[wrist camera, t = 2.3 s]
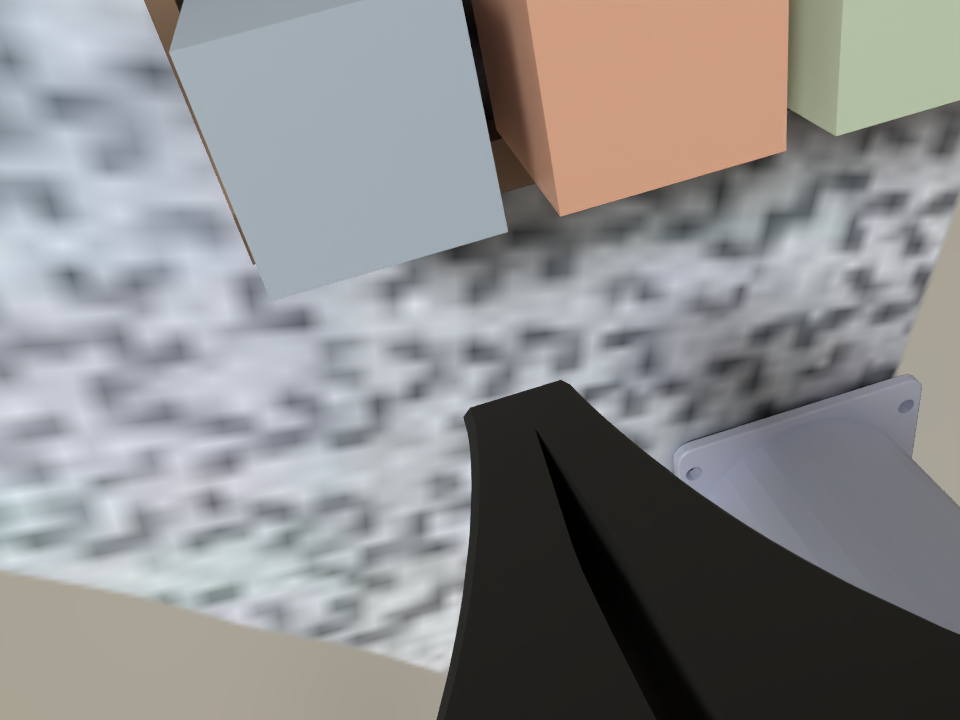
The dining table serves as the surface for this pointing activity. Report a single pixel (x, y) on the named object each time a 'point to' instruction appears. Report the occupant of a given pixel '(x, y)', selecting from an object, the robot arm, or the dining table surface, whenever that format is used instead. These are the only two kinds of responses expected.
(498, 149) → the walnut board
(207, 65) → the light grey cube
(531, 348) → the dining table surface
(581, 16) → the salmon orange cube
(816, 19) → the sage button
